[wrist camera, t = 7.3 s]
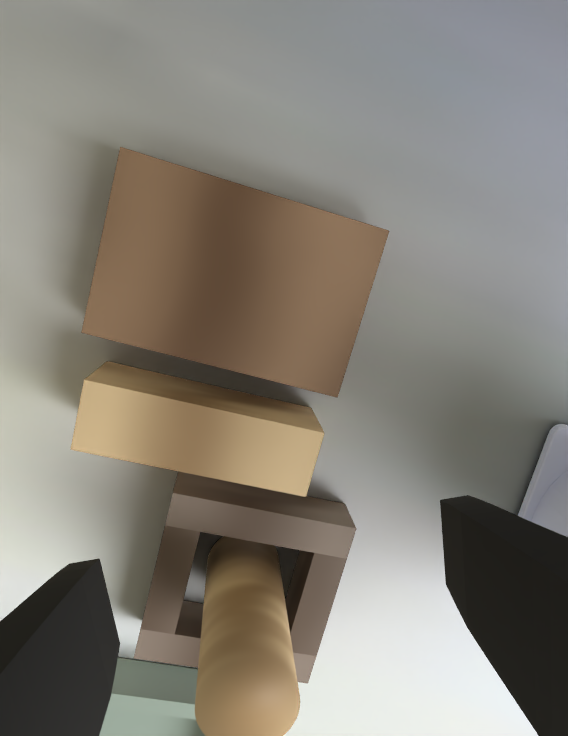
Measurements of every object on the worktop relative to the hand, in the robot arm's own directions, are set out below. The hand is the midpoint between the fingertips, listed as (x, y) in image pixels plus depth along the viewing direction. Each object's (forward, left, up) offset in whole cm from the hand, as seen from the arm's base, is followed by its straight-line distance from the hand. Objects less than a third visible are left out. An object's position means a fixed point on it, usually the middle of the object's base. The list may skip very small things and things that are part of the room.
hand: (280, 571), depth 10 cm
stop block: (+2, 0, -10) cm, 10 cm away
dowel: (-1, +6, -10) cm, 12 cm away
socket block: (-1, +6, -10) cm, 12 cm away
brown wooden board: (+2, -5, -10) cm, 12 cm away
